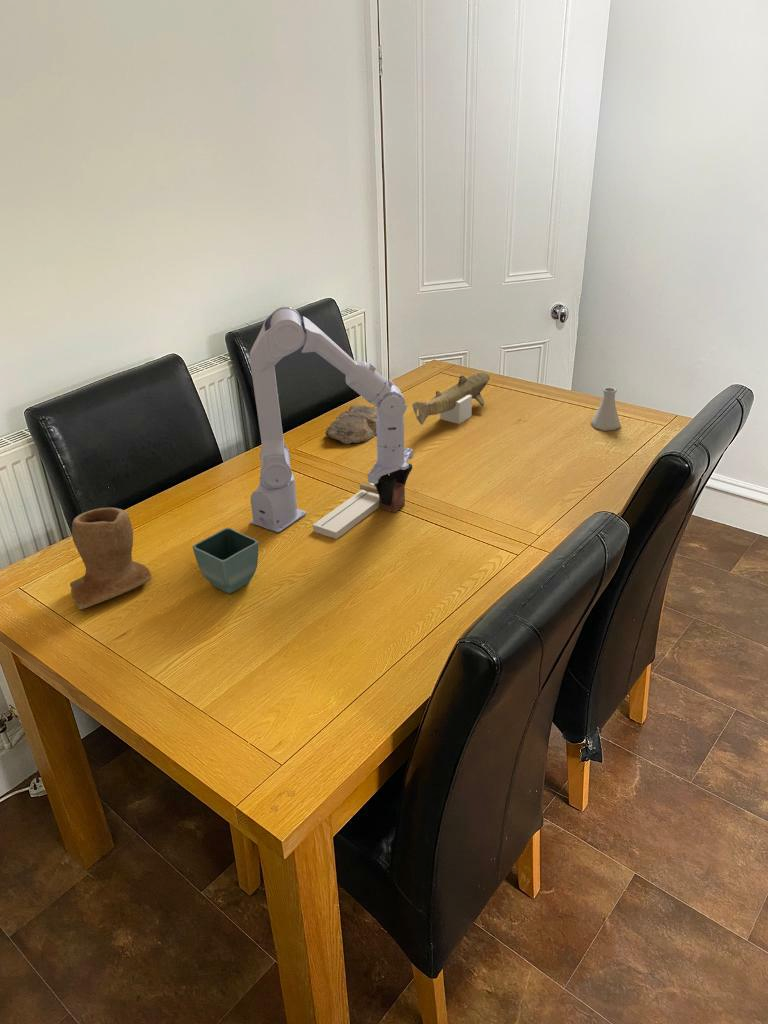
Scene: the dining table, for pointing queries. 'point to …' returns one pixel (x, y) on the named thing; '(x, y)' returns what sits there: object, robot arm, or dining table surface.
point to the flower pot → (227, 559)
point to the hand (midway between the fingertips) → (391, 499)
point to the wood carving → (454, 400)
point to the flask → (607, 412)
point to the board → (347, 514)
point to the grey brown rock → (354, 425)
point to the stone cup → (105, 557)
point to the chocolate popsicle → (397, 495)
